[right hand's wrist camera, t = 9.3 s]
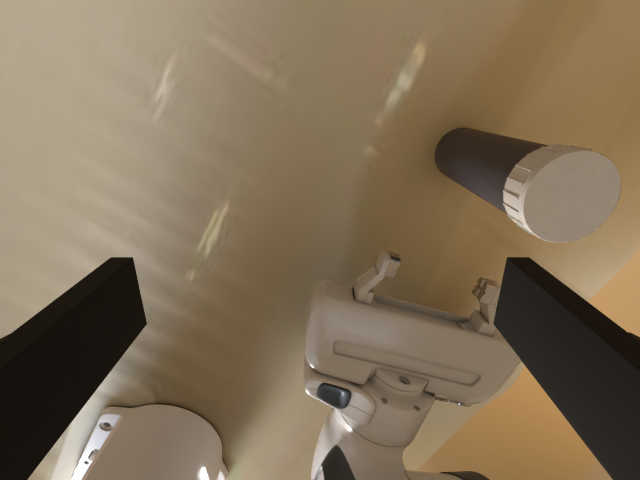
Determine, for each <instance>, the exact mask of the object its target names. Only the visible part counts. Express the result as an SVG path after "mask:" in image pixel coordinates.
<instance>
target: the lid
mask: <svg viewBox="0 0 640 480" xmlns="http://www.w3.org/2000/svg"><path fill="white" fill-rule="evenodd" d="M503 192H504V193H503V201H504V203H503V205H504V206H505V209H506V211H507V213H508V215H507V216H508V217H510V218H511V219H512V220H513V221H514V222H515V224H516V225H517V226H519V227H520V228H522V229H523V230H525V231H526V232H528V233H529V234H534V235H535V236H537V237H538V238H540V239H542V240H545V241H548V242H554V243H565V242H571V241H575V240H578V239H581V238H583V237H585V236H587V235H589V234H591V233H592V232H594V231H595V230H597V229H598V228H599V227H600V226H601V225H602V224H603V223H604V222H605V221H606V220H607V219H608V218H609V217H610V215H611V214H612V212H613V211H614V209H615V207H616V205H617V202H618V200H619V196H620V192H621V179H620V174H619V172H618V169H617V168H616V166H615V164H614V163H613V162H612V161H611V160H610V159H609V158H607V157H606V156H604V155H603V154H600V153H598V152H594V151H592V149H587V148H582V147H577V146H572V145H570V146H567V145H562V144H556V145H551V146H546V147H544V146H542V147H541V148H540V149H537V150H535V151H533V152H531V153H530V154H529V153H528V154H527V156H525V157H524V158H523V159H522V160H521V161H520V162H518V163H517V164H516V165H515V167H514V168H513V170H512V171H511V173H510V174H509V176H508V177H507V181H506V183H505V187H504V190H503Z"/></svg>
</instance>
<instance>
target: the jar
mask: <svg viewBox="0 0 640 480" xmlns="http://www.w3.org/2000/svg"><path fill="white" fill-rule="evenodd" d="M542 146H544V147H546V146H548V145H544V144H539V143H534V142H530V141H525V140H520V139H516V138H511V137H506V136H501V135H497V134H492V133H487V132H483V131H478V130H473V129H469V128H458V129H455V130H452V131H450V132H449V133H447V134H446V135H445V136H444V137H443V138H442V139H441V140H440V142H439V143H438V145H437V148H436V152H435V161H436V165H437V167H438V169H439V170H440V171H441V172H442V173H443V174H444V175H446V176H447V177H449V178H450V179H452V180H454V181H455V182H457V183H458V184H460V185H462V186H463V187H465V188H466V189H468V190H470V191H471V192H473V193H474V194H476V195H478V196H479V197H481V198H482V199H484V200H486V201H487V202H489V203H490V204H492V205H494V206H495V207H497V208H498V209H500V210H502V211H503V212H505V213H506V214H508V213H507V211H506V209H505V206H504V205H503V203H504V201H503V193H504V192H503V190H504V187H505V183H506V181H507V177H508V176H509V174H510V173H511V171H512V170H513V168H514V167H515V165H516V164H517V163H518V162H520V161H521V160H522V159H523V158H524V157H525V156H527V154H528V153H529V154H530V153H531V152H533V151H535V150H537V149H540V148H541V147H542Z"/></svg>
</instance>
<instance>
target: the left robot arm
mask: <svg viewBox="0 0 640 480" xmlns="http://www.w3.org/2000/svg"><path fill="white" fill-rule="evenodd" d="M400 263H401V259H400V258H399V255H398V254H395V253H391V252H388V251H385V250H382V251H381V253H380V255H379V258H378V260H377V263H376V265H375V266H373V267H371V268H370V269H369V270H368V271H366V272H365V273H364V274H362V275H361V276H360V277H358V278H357V281H356V284H355V286H354V287H352V286H349V285H345V284H341V283H337V282H334V281H330V280H324V281H322V282H320V283H319V284H317V285H316V286H315V287H314V289H313V292H312V295H311V299H310V304H309V309H308V316H307V326H306V341H305V359H304V384H305V391H306V392H307V393H308V394H309V395H310V396H312V397H314V398H316V399H317V400H319V401H321V402H323V403H325V404H327V405H329V406H330V407H332V408H333V409H332V410H331V411H330V412H329V414H328V415H327V417H326V420H325V422H324V425H323V427H322V430H321V433H320V436H319V439H318V442H317V445H316V449H315V453H314V458H313V464H312V471H311V480H489V479H488V478H487V477H485V476H483V475H481V474H479V473H477V472H472V471H464V472H441V473H431V472H419V471H407V470H406V469H405V467H404V464H403V461H402V453H403V450H404V449H405V448H406V447H407V446H408V445H409V444H410V443H411V442H412V441H413V439H414V437H415V436H416V434H417V432H418V430H419V428H420V426H421V425H422V423H423V421H424V419H425V417H426V415H427V414H428V412H429V410H430V408H431V406H432V405H433V402H434V400H435V399H436V400H440V401H445V402H453V403H457V404H458V405H461V406H471V404H475V403H480V402H485V401H487V400H488V399H489V398H490V397H491V396H492V395H493V394H494V393H495V392H496V391H497V390H498V389H499V388H500V387H501V386H502V385H503V384H504V382H505V381H506V380H507V379H508V378H509V376H510V375H511V374H512V373H513V371H514V370H515V369H516V367H517V366H518V365H519V363H520V362H521V359H520V358H519V357H518V355H517V354H516V353H515V352H514V350H513V349H512V348H511V346H510V345H509V344H508V342H507V341H506V340H505V339H504V337H503V336H502V335H501V333H500V332H499V331H498V329H497V328H496V327H495V326H494V324H493V322H494V318H495V313H496V307H495V304H496V302H497V300H498V298H499V294H500V289H501V286H500V285H499V284H498V283H497V282H496V281H493V280H489V279H485V278H482V277H481V278H479V279H478V281H477V285H475V286H474V288H473V290H472V293H473V294H474V296H476V297H477V299H478V301H479V302H480V312H479V311H478V310H474V311H473V313H472V314H471V316H470V317H466V316H462V315H458V314H455V313H451V312H447V311H443V310H440V309H436V308H432V307H428V306H424V305H421V304H417V303H413V302H409V301H405V300H402V299H398V298H394V297H390V296H386V295H383V294H379V293H375V292H374V291H373V287H374V286H375V285H377V284H378V283H379V282H380V281H381V280H383V279H384V278H385V277H388V278H392V279H394V278H395V276H396V274H397V271H396V269H398V268H399V266H400ZM227 475H228V471H227V468H226V466H225V464H224V463H223V461H222V444H221V440H220V438H219V435H218V434H217V432H216V431H215V429H214V428H213V427H212V426H211V425H210V424H209V423H208V422H207V421H206V420H204V419H203V418H202V417H200V416H198V415H197V414H195V413H193V412H191V411H188V410H186V409H183V408H180V407H176V406H171V405H161V404H155V405H145V406H140V407H135V408H124V407H107V408H105V409H104V410H103V412H102V414H101V416H100V418H99V420H98V422H97V424H96V426H95V428H94V430H93V432H92V434H91V437H90V439H89V441H88V443H87V445H86V447H85V449H84V451H83V453H82V456H81V458H80V460H79V462H78V464H77V466H76V468H75V470H74V472H73V475H72V477H71V480H226V478H227Z"/></svg>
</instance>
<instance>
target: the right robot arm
mask: <svg viewBox="0 0 640 480" xmlns="http://www.w3.org/2000/svg"><path fill="white" fill-rule="evenodd" d="M146 324H147V322H146V318H145V313H144V308H143V303H142V299H141V294H140V289H139V285H138V280H137V275H136V270H135V266H134V261H133V257H111V258H110V259H108V260H107V261H106V262H104V263H103V264H102V265H100V266H99V267H98V268H96V269H95V270H94V271H93V272H91V273H90V274H89V275H87V276H86V277H85V278H83V279H82V280H81V281H79V282H78V283H77V284H75V285H74V286H73V287H72V288H70V289H69V290H68V291H66V292H65V293H64V294H62V295H61V296H60V297H58V298H57V299H56V300H54V301H53V302H52V303H51V304H49V305H48V306H47V307H45V308H44V309H43V310H41V311H40V312H39V313H37V314H36V315H35V316H33V317H32V318H31V319H29V320H28V321H27V322H26V323H24V324H23V325H22V326H20V327H19V328H18V329H16V330H15V331H14V332H12V333H11V334H9V335H7V336H5V337H3V338H1V339H0V480H27V479H28V478H29V477H30V475H31V474H32V473H33V471H34V470H35V469H36V467H37V466H38V465H39V464H40V462H41V461H42V460H43V458H44V457H45V456H46V454H47V453H48V452H49V451H50V449H51V448H52V447H53V445H54V444H55V443H56V441H57V440H58V439H59V437H60V436H61V435H62V434H63V432H64V431H65V430H66V428H67V427H68V426H69V424H70V423H71V422H72V421H73V419H74V418H75V417H76V415H77V414H78V413H79V411H80V410H81V409H82V408H83V406H84V405H85V404H86V402H87V401H88V400H89V398H90V397H91V396H92V395H93V393H94V392H95V391H96V389H97V388H98V387H99V385H100V384H101V383H102V382H103V380H104V379H105V378H106V376H107V375H108V374H109V372H110V371H111V370H112V368H113V367H114V366H115V365H116V363H117V362H118V361H119V359H120V358H121V357H122V355H123V354H124V353H125V352H126V350H127V349H128V348H129V346H130V345H131V344H132V342H133V341H134V340H135V339H136V337H137V336H138V335H139V333H140V332H141V331H142V329H143V328H144V327H145V326H146ZM493 324H494V326H495V327H496V328H497V329H498V331H499V332H500V333H501V335H502V336H503V337H504V339H505V340H506V341H507V342H508V344H509V345H510V346H511V348H512V349H513V350H514V352H515V353H516V354H517V355H518V357H519V358H520V359H521V361H522V362H523V363H524V365H525V366H526V367H527V368H528V370H529V371H530V372H531V374H532V375H533V376H534V378H535V379H536V380H537V382H538V383H539V384H540V385H541V387H542V388H543V389H544V391H545V392H546V393H547V395H548V396H549V397H550V398H551V400H552V401H553V402H554V404H555V405H556V406H557V408H558V409H559V410H560V411H561V413H562V414H563V415H564V417H565V418H566V419H567V421H568V422H569V423H570V424H571V426H572V427H573V428H574V430H575V431H576V432H577V434H578V435H579V436H580V437H581V439H582V440H583V441H584V443H585V444H586V445H587V447H588V448H589V449H590V450H591V452H592V453H593V454H594V456H595V457H596V458H597V459H598V461H599V462H600V464H601V465H602V466H603V467H604V469H605V470H606V471H607V473H608V474H609V475H610V477H611V478H612V479H613V480H640V337H638V336H636V335H634V334H632V333H628V332H626V331H625V330H624V329H622V328H621V327H620V326H618V325H617V324H616V323H614V322H613V321H612V320H611V319H609V318H608V317H607V316H605V315H604V314H603V313H601V312H600V311H599V310H597V309H596V308H595V307H593V306H592V305H591V304H589V303H588V302H587V301H586V300H584V299H583V298H582V297H580V296H579V295H578V294H576V293H575V292H574V291H572V290H571V289H570V288H568V287H567V286H566V285H565V284H563V283H562V282H561V281H559V280H558V279H557V278H555V277H554V276H553V275H551V274H550V273H549V272H547V271H546V270H545V269H544V268H542V267H541V266H540V265H538V264H537V263H536V262H534V261H533V260H532V259H530V258H529V257H507V261H506V266H505V270H504V275H503V280H502V285H501V289H500V294H499V299H498V303H497V308H496V313H495V318H494V322H493Z"/></svg>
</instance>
